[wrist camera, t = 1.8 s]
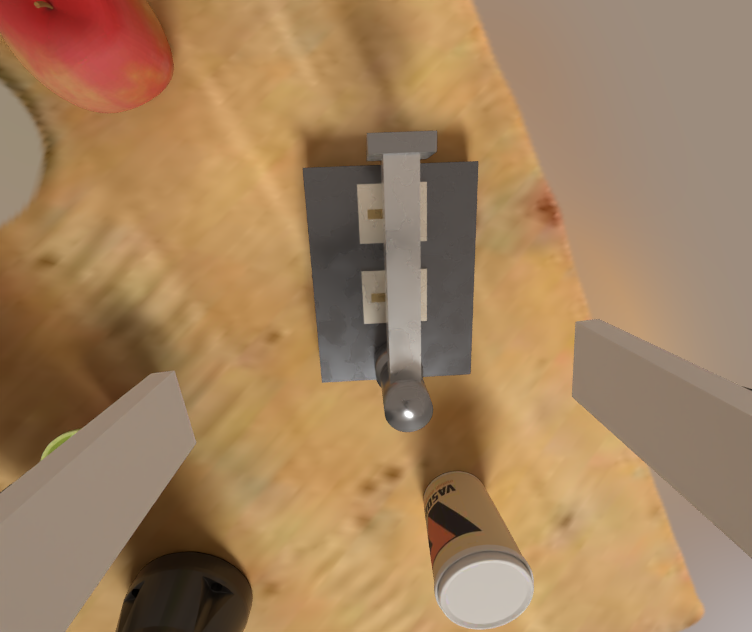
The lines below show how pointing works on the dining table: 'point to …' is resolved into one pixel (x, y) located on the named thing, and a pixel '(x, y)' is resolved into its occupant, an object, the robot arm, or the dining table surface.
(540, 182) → the dining table surface
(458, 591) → the coffee cup
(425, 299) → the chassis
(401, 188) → the grey bar
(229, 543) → the dining table surface
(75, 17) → the apple
